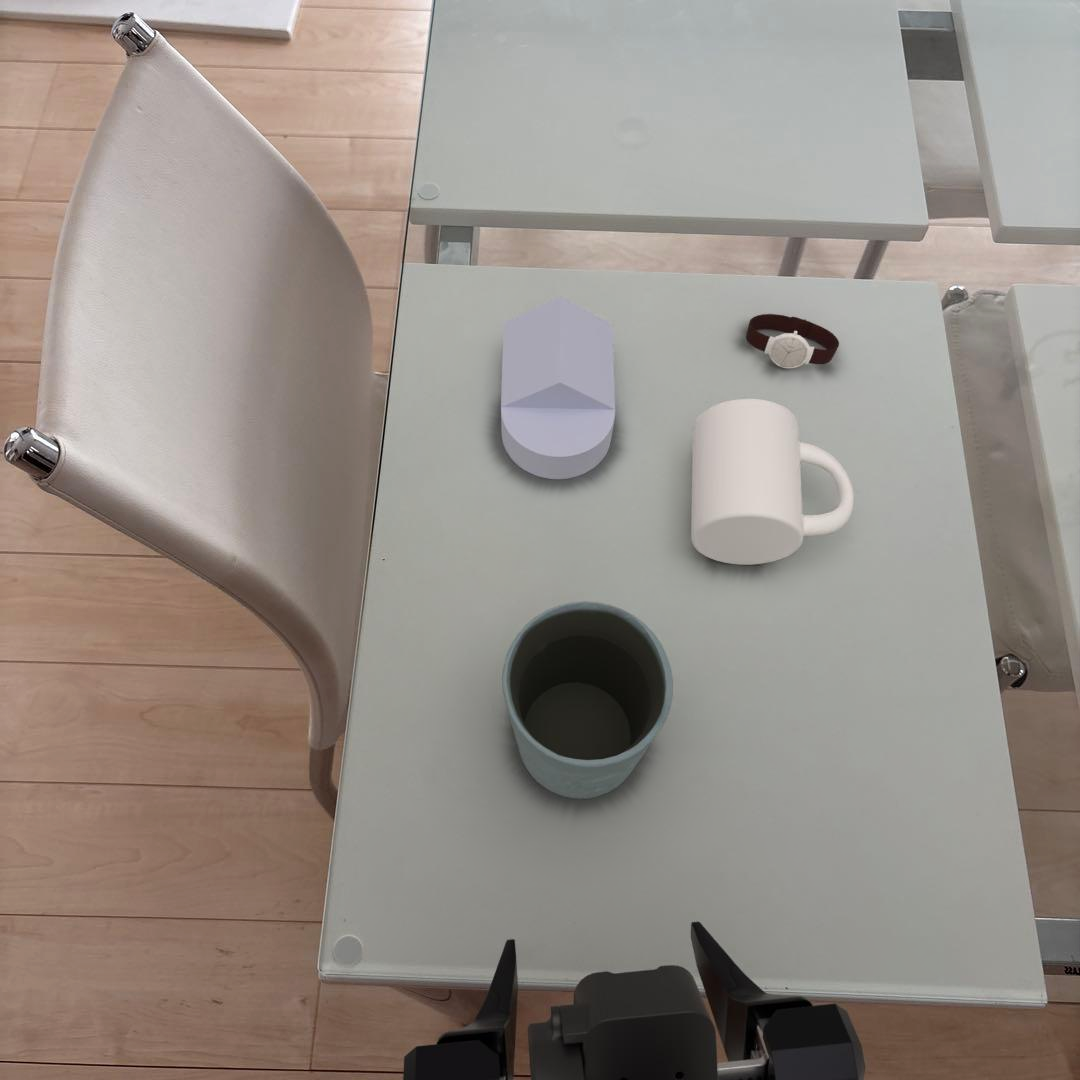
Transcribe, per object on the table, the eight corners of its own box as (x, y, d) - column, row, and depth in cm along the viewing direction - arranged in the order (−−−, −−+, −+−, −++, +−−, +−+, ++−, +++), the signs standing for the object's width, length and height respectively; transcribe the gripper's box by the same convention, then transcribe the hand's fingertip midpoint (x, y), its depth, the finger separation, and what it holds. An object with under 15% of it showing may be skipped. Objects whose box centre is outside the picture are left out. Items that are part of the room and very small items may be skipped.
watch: (738, 358, 82) (747, 331, 79) (749, 318, 84) (758, 289, 81) (827, 381, 81) (840, 354, 78) (836, 340, 83) (849, 312, 80)
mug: (683, 560, 73) (701, 510, 66) (685, 451, 78) (702, 392, 70) (840, 574, 73) (875, 525, 66) (833, 464, 77) (865, 406, 70)
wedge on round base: (504, 348, 82) (499, 478, 76) (503, 294, 76) (498, 430, 70) (608, 350, 82) (612, 480, 76) (616, 296, 76) (621, 433, 70)
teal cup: (606, 837, 63) (625, 798, 53) (476, 762, 66) (468, 710, 55) (672, 709, 68) (702, 648, 57) (547, 642, 70) (553, 572, 59)
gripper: (962, 1116, 31) (800, 792, 45) (375, 1181, 29) (399, 827, 43) (915, 1309, 35) (782, 962, 49) (409, 1371, 34) (420, 997, 48)
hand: (603, 936), depth 48 cm, fingers open, 9 cm apart
